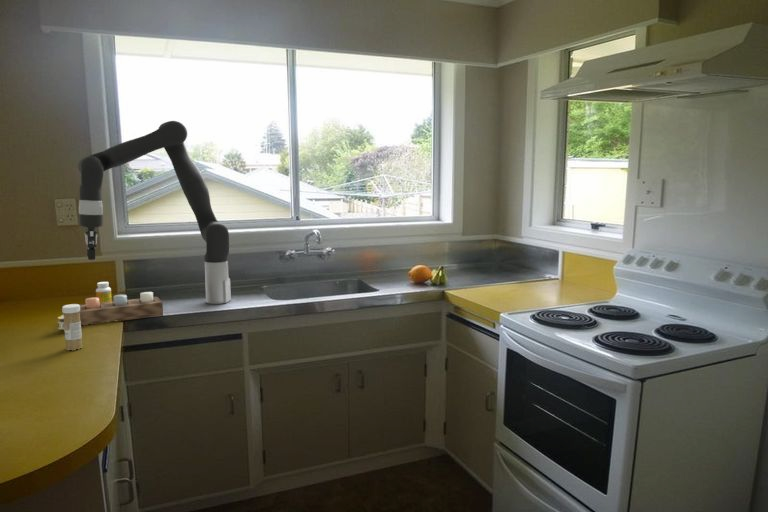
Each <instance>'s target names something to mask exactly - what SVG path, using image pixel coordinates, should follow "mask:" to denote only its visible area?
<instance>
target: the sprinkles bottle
mask: <svg viewBox="0 0 768 512" xmlns="http://www.w3.org/2000/svg"><path fill="white" fill-rule="evenodd" d="M80 305H81V304H78V303H71V304H65V305H63V306H62V308H61V311H62V315H63V314H64V329H63V330H64V340H65V351H69V350H72V351H77V350H76V349H78V350H81V349H82V348H83V346H84V345H83V339H82V338H83V336H82V335H83V334H82V333H83V332H82V326H81V321H80ZM80 348H81V349H80Z"/></svg>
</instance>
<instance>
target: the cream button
mask: <svg viewBox="0 0 768 512" xmlns="http://www.w3.org/2000/svg"><path fill="white" fill-rule="evenodd" d="M139 295H140V296H139V297H140V298H139V299H140V300H141V303H146V302H153V297H154V291H153V292H152V291H144V292H143V291H142V292H140V294H139Z"/></svg>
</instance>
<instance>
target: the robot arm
mask: <svg viewBox="0 0 768 512" xmlns="http://www.w3.org/2000/svg"><path fill="white" fill-rule="evenodd" d="M187 138H188V130H187V127H186V126H185V125H184V123H182V122H180V121H177V120H169V121H165V122H162V123H161V124H160V125H159V126H158V129H156V130H154V131H152V132H149V133H148V134H145V135H143V136H139V137H136V138H133V139H130V140H126V141H124V142H120V143H118V144H115V145H113V146H111V147H109V148H106V149H105V150H102V151H100V152H96V153H93V154H90V155H87V156H84V157H82V158H81V159H80V160H79V161H78V164H77V168H78V171H79V172H80V173H81V174H80V175H81V176H80V177H81V178H80V180H81V181H80V182H81V184H80V185H79V191H78V193H79V203H78V225H79V227H82V228H83V227H84V228H85V230H86V231H84V237H85V239H84V240H85V245H86V250H87V251H86V252H87V253H86V255H87V256H86V257H87V259H88V260H89V261H94V260H95V259H96V248H97V243H98V231H97V230H96V228H101V227H103V225H104V206H103V189H102V186H103V181H104V172H105V171H107V170H111V169H112V168H117V167H120V166H123V165H126V164H128V163H130V162H133V161H135V160H137V159H139V158H141V157H143V156H146V155H147V154H150V153H152V152H155V151H157V150H160V149H164V150H165V152H166V154H167V155H168V158H169V159H170V161H171V164H172V167H173V170H174V173H175V175H176V177H177V179H178V183H179V185H180V187H181V189H182V191H183V194H184V196H185V198H186V200H187V203H188V204H189V207H190V208H191V210H192V212H193V215H194V216H195V219H196V223H197V225H198V228H199V233H200V235H201V237H202V239H203V240H204V241H205V242H206V243H205V244H206V245H205V246H206V251H205V254H204V256H203V257H204V258H203V260H204V278H205V279H204V282H205V302H206V303H207V304H211V305H218V304H221V305H222V304H228V303H229V302H230V301H231V298H232V297H231V296H232V294H231V292H232V291H231V278H230V277H229V258H228V257H229V254H230V234H229V230H228V228H227V226H226V225H225V224H224V223H223V224H222V223H221V222H220V223H219V221H218V219H217V218H216V216H215V213H214V211H213V208H212V205H211V198H210V197H211V196H210V191H209V188H208V185H207V183H206V181H205V178H204V176H203V173H202V172H201V170H200V169H199V168H198V166H197V165H196V164H195V162H194V160H192V158H191V157H190V155H189V152H188V151H187V148H186V145H185V142H186V139H187Z"/></svg>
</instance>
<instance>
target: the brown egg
mask: <svg viewBox="0 0 768 512" xmlns="http://www.w3.org/2000/svg"><path fill="white" fill-rule="evenodd" d="M84 302H85V304H86V309H92V308H100V302H99V298H98V297H96V296H95V297H93V296H92V297H87V298H85V301H84Z"/></svg>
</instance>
